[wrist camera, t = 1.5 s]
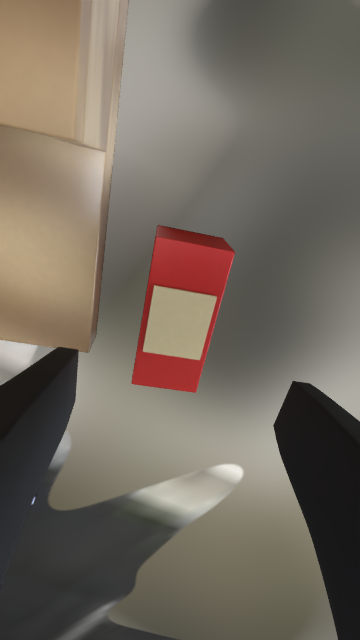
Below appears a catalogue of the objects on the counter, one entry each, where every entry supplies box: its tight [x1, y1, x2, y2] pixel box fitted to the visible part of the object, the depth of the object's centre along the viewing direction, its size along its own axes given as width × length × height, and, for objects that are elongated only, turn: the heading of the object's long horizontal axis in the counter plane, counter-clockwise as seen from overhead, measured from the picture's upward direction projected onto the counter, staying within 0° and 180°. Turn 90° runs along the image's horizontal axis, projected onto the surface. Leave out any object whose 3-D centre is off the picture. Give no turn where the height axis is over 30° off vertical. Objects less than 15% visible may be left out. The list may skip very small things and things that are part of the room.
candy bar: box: [132, 225, 235, 393], centre depth 17 cm, size 8×4×3 cm, turn 169°
